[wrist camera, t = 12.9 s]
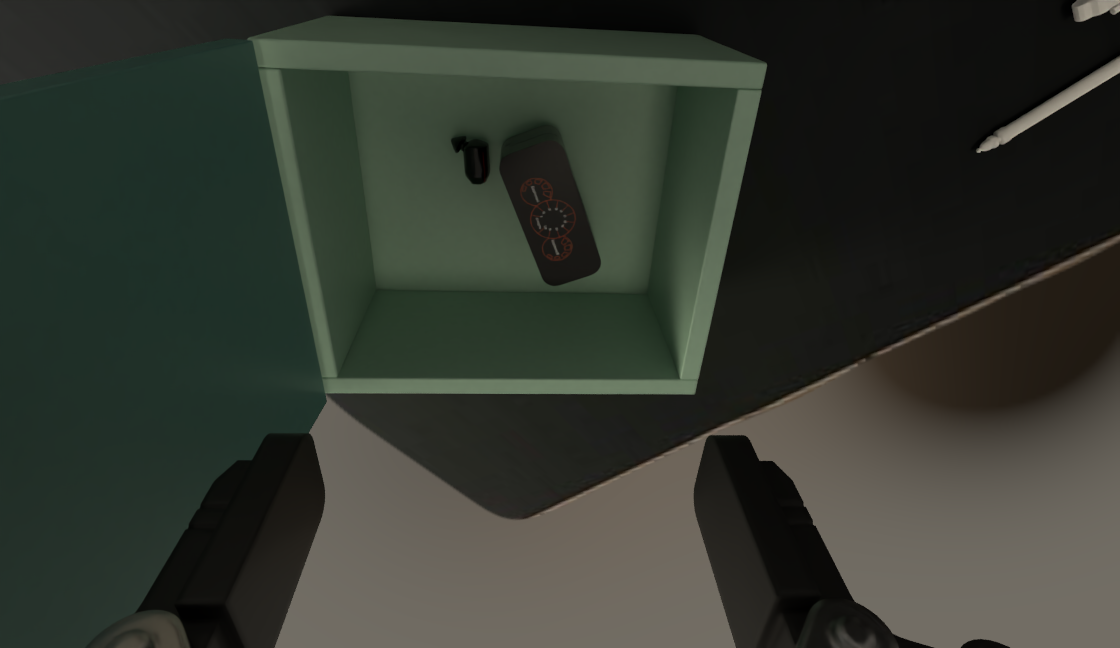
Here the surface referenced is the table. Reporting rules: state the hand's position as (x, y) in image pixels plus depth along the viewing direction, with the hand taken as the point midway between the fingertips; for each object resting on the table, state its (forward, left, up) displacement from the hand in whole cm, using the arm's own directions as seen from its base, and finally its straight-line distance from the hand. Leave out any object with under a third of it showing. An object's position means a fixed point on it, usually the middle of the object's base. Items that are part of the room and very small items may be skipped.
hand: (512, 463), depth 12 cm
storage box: (0, 0, -19) cm, 19 cm away
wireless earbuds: (0, +1, -18) cm, 18 cm away
